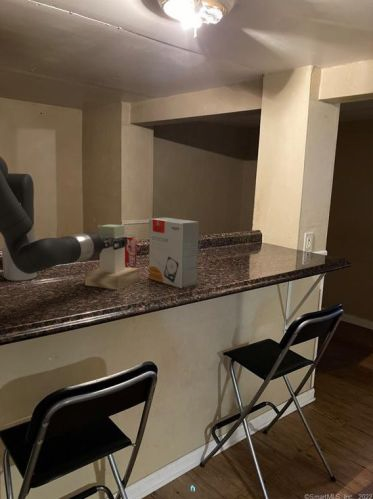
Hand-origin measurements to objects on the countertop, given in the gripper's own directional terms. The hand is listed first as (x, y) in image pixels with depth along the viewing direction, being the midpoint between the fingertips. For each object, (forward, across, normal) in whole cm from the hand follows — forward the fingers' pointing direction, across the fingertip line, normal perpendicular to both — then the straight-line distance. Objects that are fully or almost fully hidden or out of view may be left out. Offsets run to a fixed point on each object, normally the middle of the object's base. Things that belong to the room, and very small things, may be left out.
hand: (116, 239), depth 122 cm
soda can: (+12, +4, +14) cm, 18 cm away
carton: (-2, 0, +10) cm, 10 cm away
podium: (-2, 0, +14) cm, 14 cm away
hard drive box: (+8, -16, +14) cm, 22 cm away
